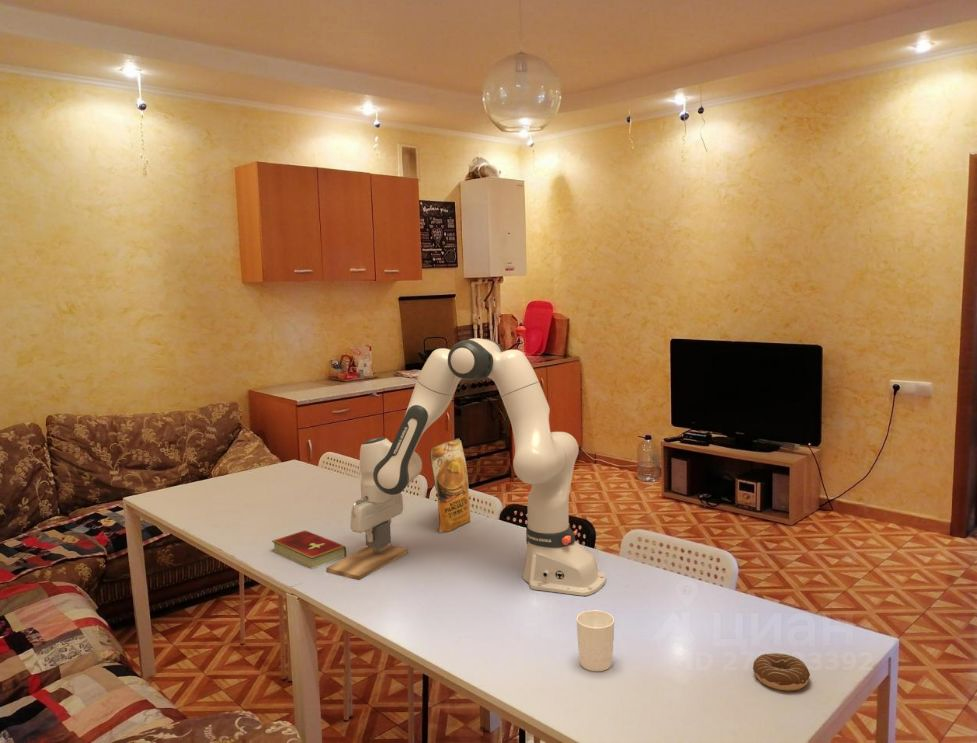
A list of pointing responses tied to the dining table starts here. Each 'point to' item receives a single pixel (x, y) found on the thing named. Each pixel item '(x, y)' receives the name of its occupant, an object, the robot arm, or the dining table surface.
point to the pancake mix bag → (451, 485)
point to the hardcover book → (309, 549)
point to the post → (379, 550)
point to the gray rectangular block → (380, 535)
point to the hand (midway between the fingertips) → (378, 537)
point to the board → (365, 562)
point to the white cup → (595, 639)
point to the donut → (781, 671)
